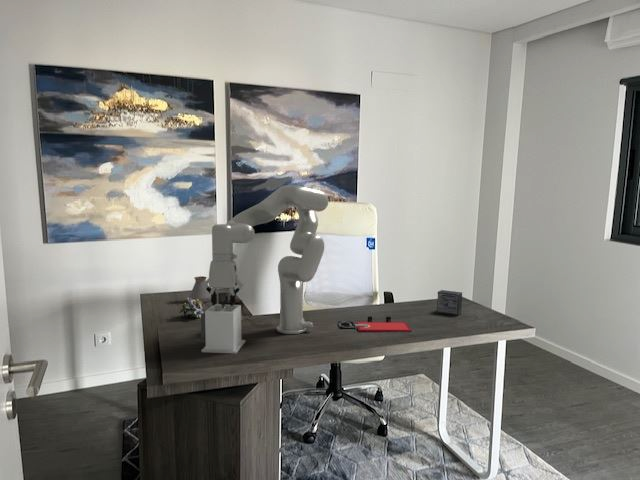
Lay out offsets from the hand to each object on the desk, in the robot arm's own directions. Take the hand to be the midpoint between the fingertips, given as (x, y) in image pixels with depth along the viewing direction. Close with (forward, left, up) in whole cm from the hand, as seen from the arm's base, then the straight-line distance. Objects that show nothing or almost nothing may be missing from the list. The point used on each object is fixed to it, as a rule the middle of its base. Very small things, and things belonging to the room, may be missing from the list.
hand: (223, 304), depth 176 cm
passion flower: (+27, -37, -17) cm, 49 cm away
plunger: (0, 0, -16) cm, 16 cm away
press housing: (0, 0, -16) cm, 16 cm away
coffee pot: (+28, -68, -17) cm, 76 cm away
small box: (-94, -61, -17) cm, 113 cm away
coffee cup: (+2, -20, -17) cm, 26 cm away
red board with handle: (-57, -33, -17) cm, 68 cm away
